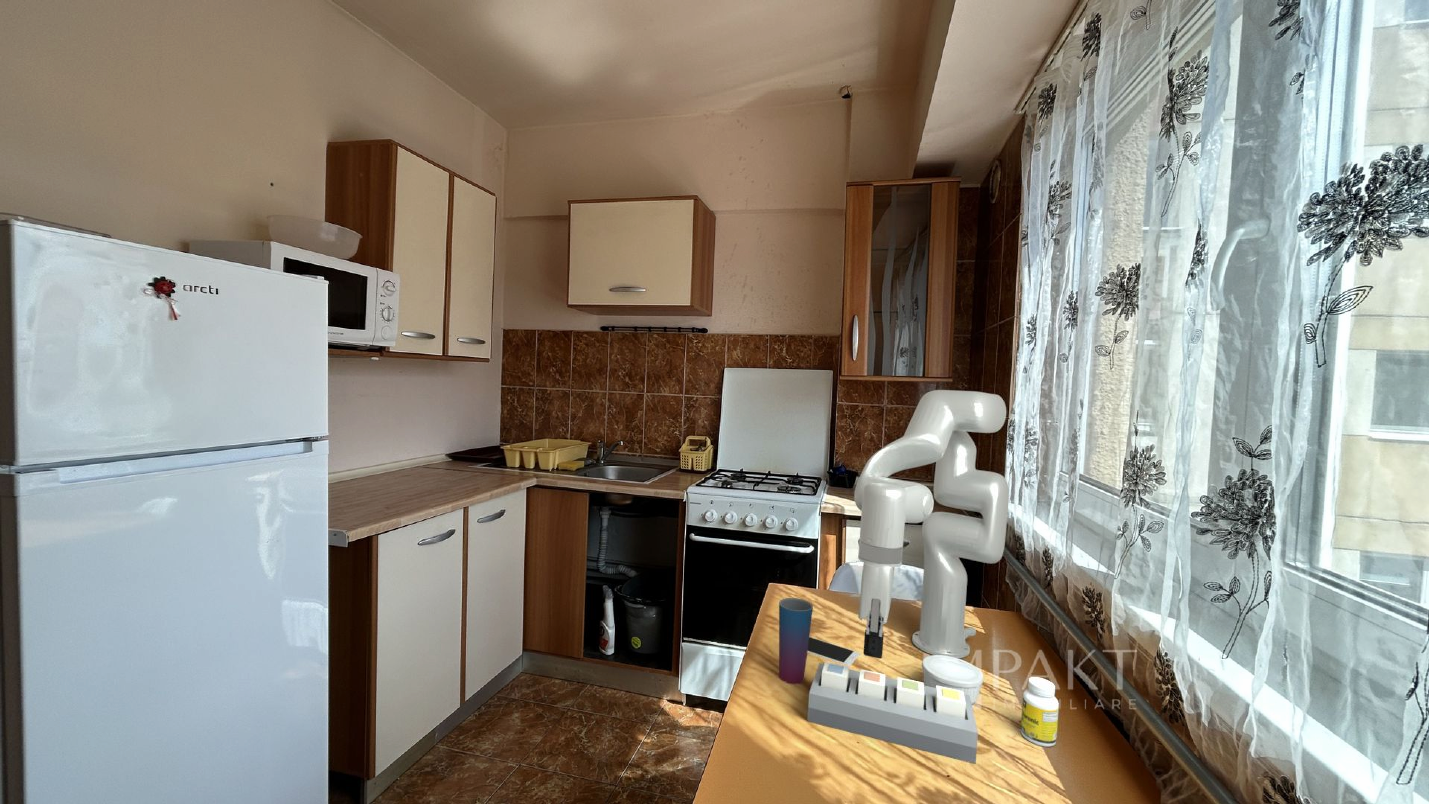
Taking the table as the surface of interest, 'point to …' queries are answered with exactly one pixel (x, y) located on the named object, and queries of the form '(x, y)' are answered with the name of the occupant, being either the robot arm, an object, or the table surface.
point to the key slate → (835, 676)
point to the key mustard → (950, 702)
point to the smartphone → (831, 651)
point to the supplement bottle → (1040, 712)
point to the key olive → (910, 693)
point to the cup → (793, 638)
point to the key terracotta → (871, 684)
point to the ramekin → (952, 675)
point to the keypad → (894, 718)
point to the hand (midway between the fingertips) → (872, 654)
